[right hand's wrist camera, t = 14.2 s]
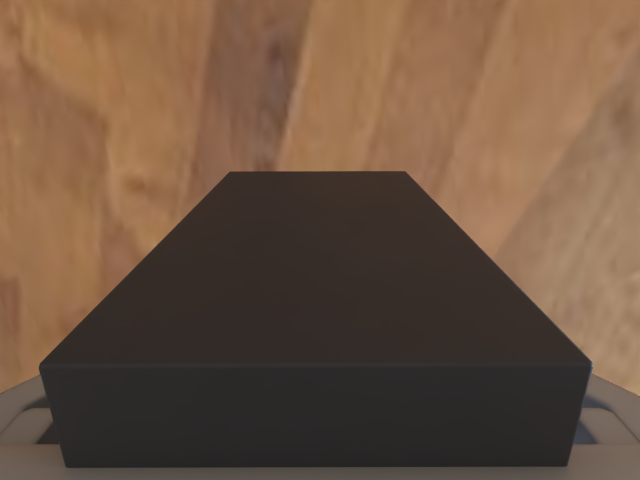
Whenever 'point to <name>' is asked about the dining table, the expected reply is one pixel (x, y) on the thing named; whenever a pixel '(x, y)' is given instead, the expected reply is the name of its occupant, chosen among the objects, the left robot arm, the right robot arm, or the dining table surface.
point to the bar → (316, 341)
